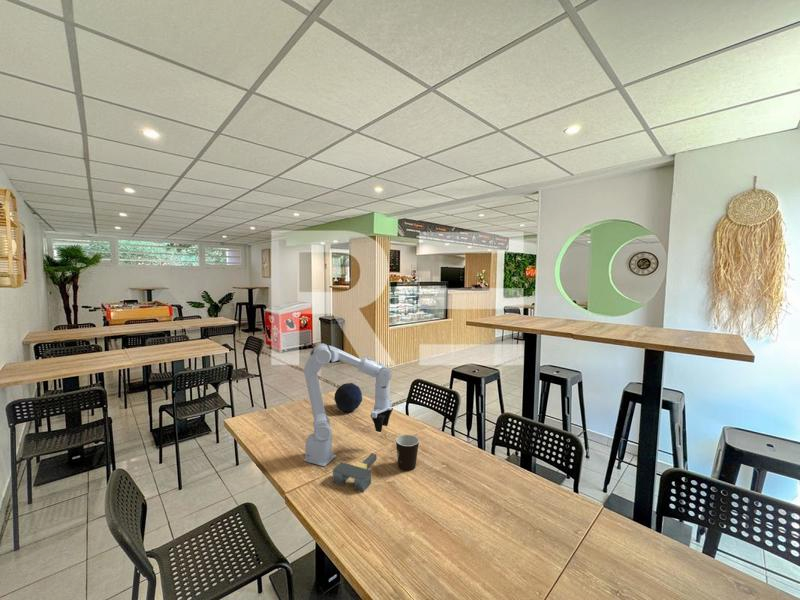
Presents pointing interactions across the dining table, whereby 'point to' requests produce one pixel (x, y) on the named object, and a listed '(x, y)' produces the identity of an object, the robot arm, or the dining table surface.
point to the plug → (368, 461)
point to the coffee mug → (407, 451)
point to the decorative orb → (348, 397)
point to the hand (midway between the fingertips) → (381, 428)
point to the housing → (352, 475)
